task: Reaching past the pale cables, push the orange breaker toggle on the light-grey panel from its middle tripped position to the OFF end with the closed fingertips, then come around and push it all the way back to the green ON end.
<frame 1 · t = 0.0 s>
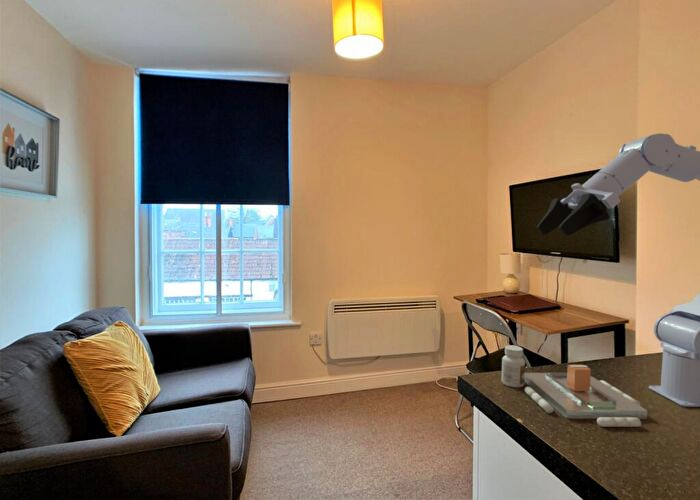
hand: (550, 231, 69), 32 cm above the worktop, tool tilted 50°, fingers open, 7 cm apart
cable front: (538, 403, 68), on the worktop
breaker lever: (578, 377, 70), point 4 cm above the worktop, slide at 0.0 cm
cable near base: (618, 397, 71), on the worktop
pill bottle: (512, 384, 77), on the worktop
breaker panel: (577, 397, 71), on the worktop
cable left: (619, 426, 60), on the worktop
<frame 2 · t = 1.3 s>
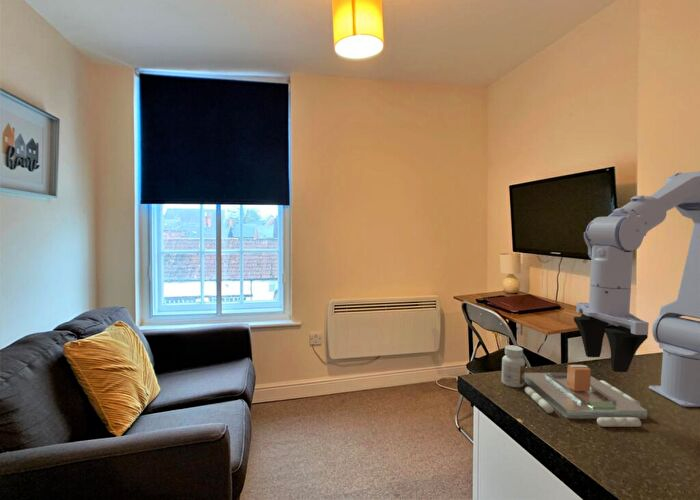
hand: (605, 363, 63), 9 cm above the worktop, tool pointing down, fingers open, 6 cm apart
nothing on the worktop moved.
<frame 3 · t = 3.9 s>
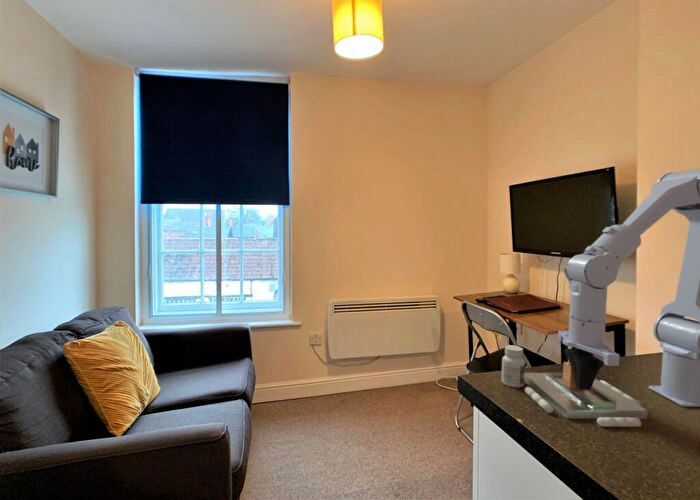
hand: (583, 388, 69), 2 cm above the worktop, tool pointing down, fingers closed
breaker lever: (574, 374, 72), point 4 cm above the worktop, slide at -1.4 cm, touching gripper
everything else where it was.
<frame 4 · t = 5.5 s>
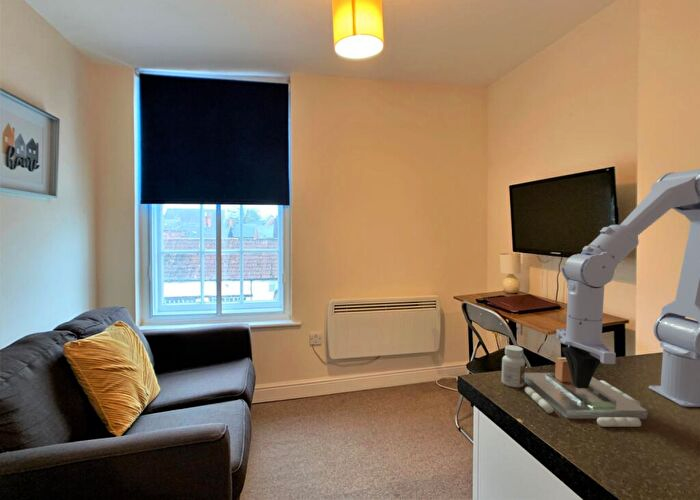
hand: (580, 386, 70), 2 cm above the worktop, tool pointing down, fingers closed
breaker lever: (566, 368, 75), point 4 cm above the worktop, slide at -4.0 cm
everything else where it was.
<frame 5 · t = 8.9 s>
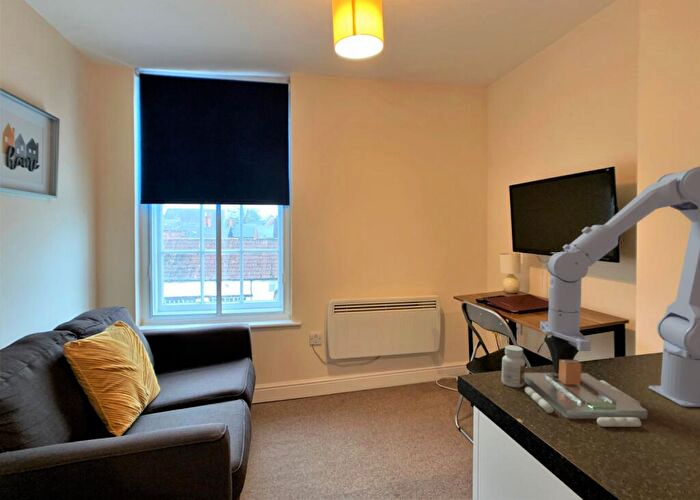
hand: (561, 373, 76), 2 cm above the worktop, tool pointing down, fingers closed
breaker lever: (569, 371, 73), point 4 cm above the worktop, slide at -2.8 cm, touching gripper
everything else where it was.
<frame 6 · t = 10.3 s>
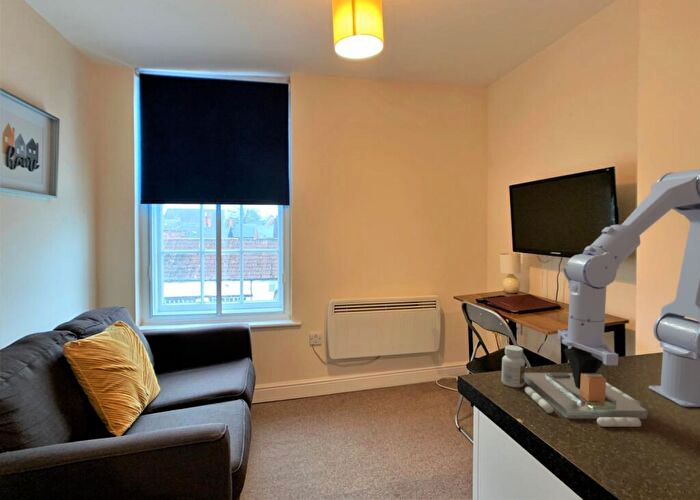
hand: (582, 388, 69), 2 cm above the worktop, tool pointing down, fingers closed
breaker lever: (592, 386, 66), point 4 cm above the worktop, slide at 4.1 cm, touching gripper
everything else where it was.
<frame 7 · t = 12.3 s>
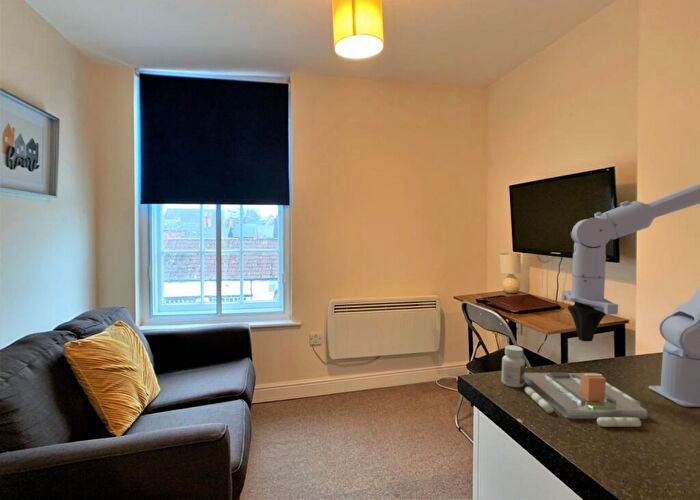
hand: (585, 340, 76), 9 cm above the worktop, tool pointing down, fingers closed
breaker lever: (592, 386, 66), point 4 cm above the worktop, slide at 4.0 cm
everything else where it was.
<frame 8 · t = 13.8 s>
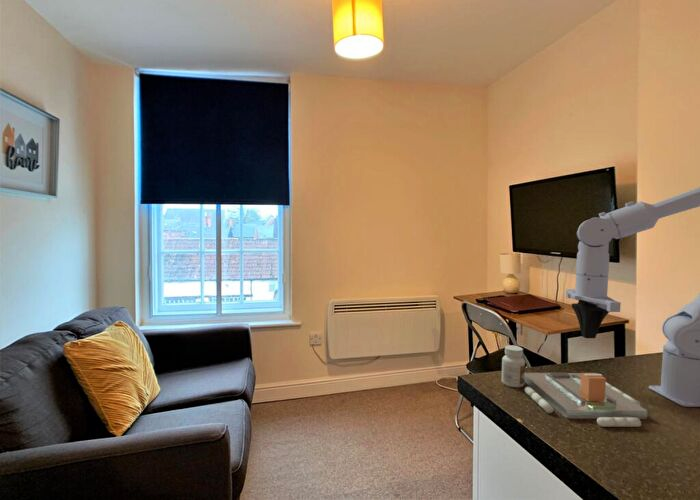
hand: (588, 337, 78), 9 cm above the worktop, tool pointing down, fingers closed
nothing on the worktop moved.
at the end: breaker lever slide at 4.0 cm; pill bottle moved 0.2 cm from its start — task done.
